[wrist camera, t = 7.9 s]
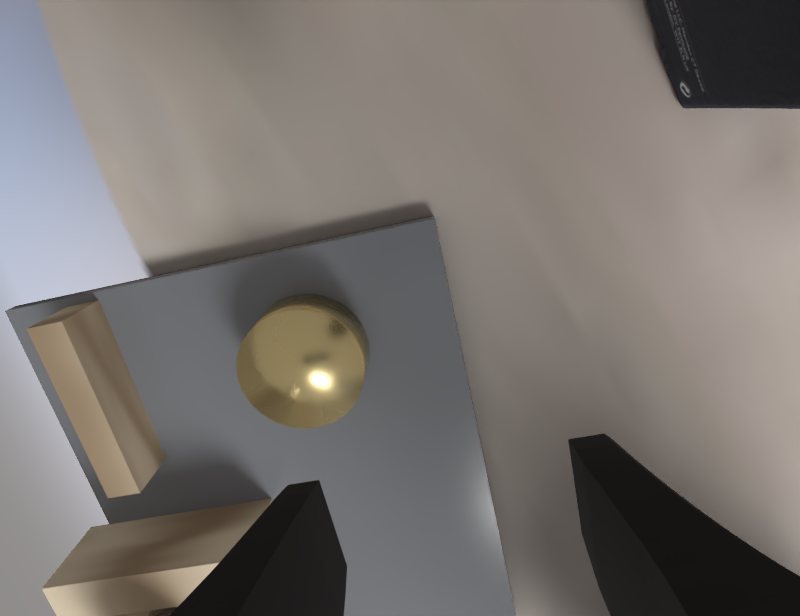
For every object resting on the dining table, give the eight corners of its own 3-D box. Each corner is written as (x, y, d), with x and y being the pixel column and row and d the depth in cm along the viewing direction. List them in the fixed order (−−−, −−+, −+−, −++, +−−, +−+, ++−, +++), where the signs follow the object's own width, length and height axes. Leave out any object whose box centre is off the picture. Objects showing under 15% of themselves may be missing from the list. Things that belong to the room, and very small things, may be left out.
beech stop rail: (98, 300, 19) (62, 321, 17) (166, 458, 21) (140, 493, 19) (66, 306, 19) (26, 328, 17) (137, 463, 21) (107, 498, 19)
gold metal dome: (353, 282, 18) (345, 300, 16) (381, 390, 19) (377, 417, 18) (237, 306, 18) (218, 326, 17) (273, 409, 20) (258, 437, 18)
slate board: (434, 216, 18) (434, 218, 17) (515, 611, 23) (517, 622, 23) (15, 306, 19) (5, 311, 19) (182, 654, 25) (178, 664, 24)
